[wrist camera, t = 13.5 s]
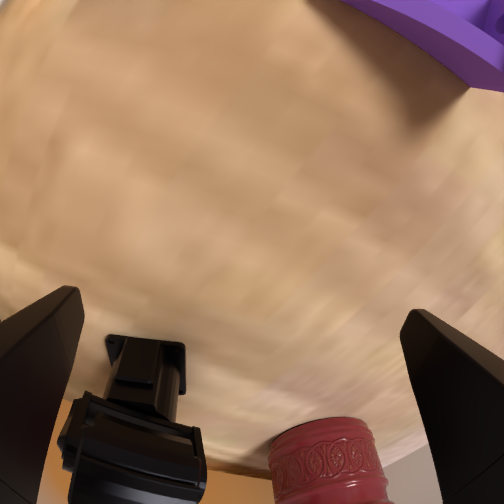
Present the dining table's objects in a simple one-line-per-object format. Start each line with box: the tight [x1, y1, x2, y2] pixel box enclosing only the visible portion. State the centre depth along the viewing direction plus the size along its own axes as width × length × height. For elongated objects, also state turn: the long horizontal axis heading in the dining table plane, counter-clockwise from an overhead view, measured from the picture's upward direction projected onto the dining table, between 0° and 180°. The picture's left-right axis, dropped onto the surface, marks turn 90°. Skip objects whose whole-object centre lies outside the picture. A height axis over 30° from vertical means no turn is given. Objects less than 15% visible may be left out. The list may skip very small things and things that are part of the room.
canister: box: [268, 417, 394, 504], centre depth 26 cm, size 13×13×18 cm
